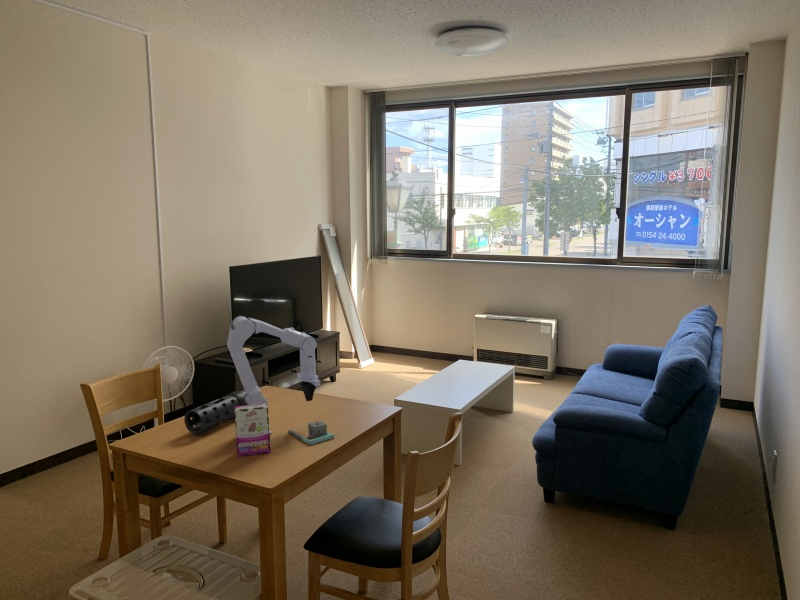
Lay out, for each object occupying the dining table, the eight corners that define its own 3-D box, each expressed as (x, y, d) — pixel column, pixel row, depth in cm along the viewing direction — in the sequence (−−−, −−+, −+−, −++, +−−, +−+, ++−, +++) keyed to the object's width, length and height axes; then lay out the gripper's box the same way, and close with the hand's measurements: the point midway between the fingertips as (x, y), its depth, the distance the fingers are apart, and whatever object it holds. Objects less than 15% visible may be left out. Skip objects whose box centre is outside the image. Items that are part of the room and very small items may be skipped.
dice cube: (314, 440, 214) (314, 427, 214) (308, 436, 218) (308, 423, 218) (327, 437, 217) (326, 424, 216) (320, 433, 221) (320, 420, 220)
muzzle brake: (184, 435, 222) (182, 408, 221) (235, 412, 247) (234, 388, 246) (204, 438, 218) (202, 411, 216) (253, 415, 243) (252, 390, 241)
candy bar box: (269, 447, 208) (267, 402, 206) (270, 453, 203) (268, 406, 201) (236, 451, 205) (234, 405, 203) (236, 457, 200) (234, 410, 198)
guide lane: (310, 445, 210) (309, 441, 210) (288, 432, 222) (288, 428, 222) (334, 438, 216) (334, 434, 216) (311, 426, 228) (311, 422, 228)
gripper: (326, 367, 225) (328, 402, 227) (307, 361, 236) (308, 394, 238) (310, 371, 221) (311, 406, 222) (291, 363, 232) (293, 397, 234)
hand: (309, 400), depth 230 cm, fingers closed
